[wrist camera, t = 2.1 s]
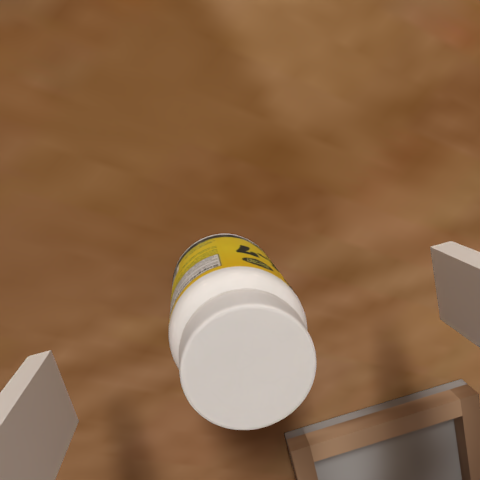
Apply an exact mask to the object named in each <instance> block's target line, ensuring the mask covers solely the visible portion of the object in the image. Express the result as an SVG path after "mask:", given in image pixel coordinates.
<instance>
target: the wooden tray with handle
mask: <svg viewBox="0 0 480 480" xmlns="http://www.w3.org/2000/svg"><path fill="white" fill-rule="evenodd" d="M284 434H285V438H286V442H287V446H288V450H289V454H290V458H291V462H292V466H293V470H294V473H295V477H296V480H480V403H479V394H478V393H477V392H476V391H475V390H474V389H472V388H471V387H470V386H469V385H468V384H466V383H465V382H464V381H463V380H462V379H460V380H456V381H453V382H450V383H447V384H443V385H440V386H437V387H434V388H430V389H427V390H424V391H420V392H417V393H414V394H411V395H407V396H404V397H401V398H398V399H394V400H391V401H388V402H384V403H381V404H378V405H375V406H371V407H368V408H365V409H362V410H358V411H355V412H352V413H348V414H345V415H342V416H339V417H335V418H332V419H329V420H326V421H322V422H319V423H316V424H312V425H309V426H306V427H303V428H299V429H296V430H293V431H290V432H286V433H284Z"/></svg>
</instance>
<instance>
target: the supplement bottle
mask: <svg viewBox="0 0 480 480" xmlns="http://www.w3.org/2000/svg"><path fill="white" fill-rule="evenodd" d="M169 344H170V349H171V353H172V356H173V359H174V361H175V363H176V365H177V367H178V369H179V373H180V381H181V386H182V389H183V391H184V394H185V396H186V398H187V400H188V401H189V403H190V405H191V406H192V407H193V408H194V409H195V411H197V412H198V413H199V414H200V415H201V416H202V417H204V418H205V419H206V420H208V421H210V422H211V423H213V424H216V425H218V426H221V427H224V428H228V429H234V430H254V429H259V428H263V427H267V426H270V425H272V424H274V423H276V422H279V421H280V420H282V419H284V418H285V417H287V416H288V415H290V414H291V413H292V412H293V411H294V410H296V409H297V408H298V407H299V405H300V404H301V403H302V402H303V401H304V399H305V398H306V396H307V395H308V393H309V391H310V389H311V387H312V384H313V381H314V378H315V373H316V352H315V348H314V344H313V341H312V339H311V337H310V335H309V333H308V331H307V321H306V316H305V313H304V310H303V307H302V305H301V303H300V301H299V299H298V297H297V295H296V294H295V293H294V291H293V290H292V288H291V287H290V286H289V284H288V283H287V282H286V281H285V279H284V278H283V276H282V275H281V274H280V272H279V271H278V270H277V269H276V267H275V266H274V265H273V263H272V262H271V261H270V259H269V258H268V256H267V255H266V254H265V253H264V252H263V251H262V249H260V248H259V247H258V246H257V245H256V244H255V243H253V242H252V241H250V240H248V239H246V238H244V237H241V236H238V235H234V234H215V235H211V236H208V237H205V238H203V239H201V240H199V241H197V242H195V243H194V244H193V245H191V246H190V247H189V248H188V249H187V250H186V251H185V252H184V253H183V255H182V256H181V258H180V260H179V261H178V263H177V266H176V268H175V271H174V275H173V283H172V295H171V308H170V319H169Z"/></svg>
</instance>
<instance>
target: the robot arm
mask: <svg viewBox="0 0 480 480" xmlns="http://www.w3.org/2000/svg"><path fill="white" fill-rule="evenodd" d="M430 249H431V256H432V263H433V270H434V278H435V285H436V292H437V299H438V306H439V314H440V319H441V320H442V321H443V322H445V323H446V324H448V325H449V326H450V327H452V328H453V329H455V330H456V331H457V332H459V333H460V334H462V335H463V336H464V337H466V338H467V339H469V340H470V341H471V342H473V343H474V344H475V345H477V346H478V347H480V252H478V251H475V250H473V249H470V248H468V247H465V246H463V245H460V244H457V243H455V242H452V241H450V242H446V243H443V244H439V245H435V246H432V247H430ZM78 422H79V420H78V418H77V415H76V413H75V410H74V407H73V405H72V402H71V400H70V397H69V395H68V392H67V390H66V387H65V384H64V382H63V379H62V377H61V374H60V372H59V369H58V367H57V364H56V361H55V359H54V356H53V354H52V351H51V350H50V351H46V352H43V353H39V354H35V355H32V356H28V357H27V358H26V360H25V361H24V362H23V364H22V365H21V366H20V368H19V369H18V370H17V371H16V373H15V374H14V375H13V377H12V378H11V379H10V381H9V382H8V383H7V385H6V386H5V387H4V389H3V390H2V391H1V393H0V480H55V479H56V476H57V474H58V471H59V469H60V466H61V464H62V461H63V459H64V456H65V454H66V451H67V449H68V446H69V444H70V441H71V439H72V436H73V434H74V432H75V429H76V427H77V424H78Z"/></svg>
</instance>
